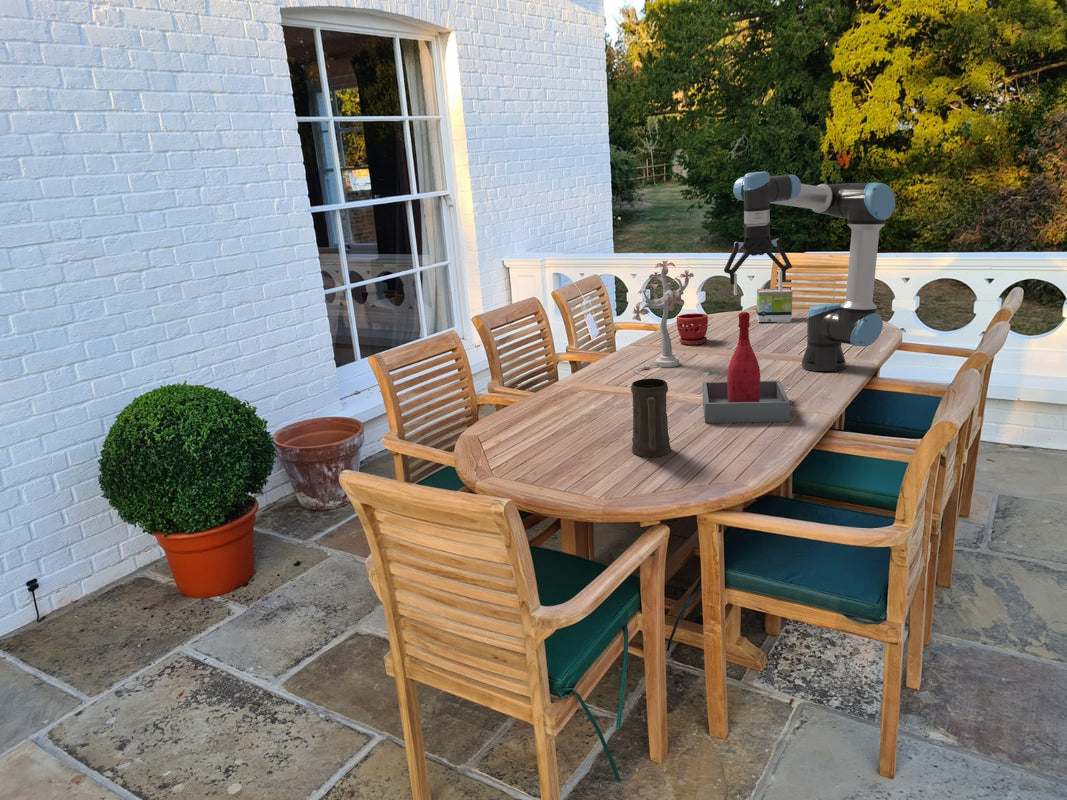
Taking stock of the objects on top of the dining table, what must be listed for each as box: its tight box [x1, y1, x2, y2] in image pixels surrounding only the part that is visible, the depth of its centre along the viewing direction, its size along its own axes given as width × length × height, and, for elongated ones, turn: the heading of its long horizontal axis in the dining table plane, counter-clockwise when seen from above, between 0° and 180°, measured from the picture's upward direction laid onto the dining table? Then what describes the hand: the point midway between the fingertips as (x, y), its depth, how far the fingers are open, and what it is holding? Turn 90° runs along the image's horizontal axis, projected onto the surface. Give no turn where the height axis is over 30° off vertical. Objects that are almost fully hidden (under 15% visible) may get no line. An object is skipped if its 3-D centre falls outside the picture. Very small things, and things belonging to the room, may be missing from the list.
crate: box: [702, 379, 791, 424], centre depth 250 cm, size 24×24×6 cm
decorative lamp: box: [632, 259, 695, 377], centre depth 304 cm, size 28×24×40 cm
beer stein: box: [630, 378, 672, 458], centre depth 217 cm, size 15×11×20 cm
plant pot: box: [676, 312, 709, 346], centre depth 342 cm, size 13×13×12 cm
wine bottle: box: [727, 311, 761, 402], centre depth 246 cm, size 10×10×30 cm
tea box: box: [755, 287, 793, 323], centre depth 372 cm, size 15×10×15 cm
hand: (757, 293), depth 251 cm, fingers open, 13 cm apart
